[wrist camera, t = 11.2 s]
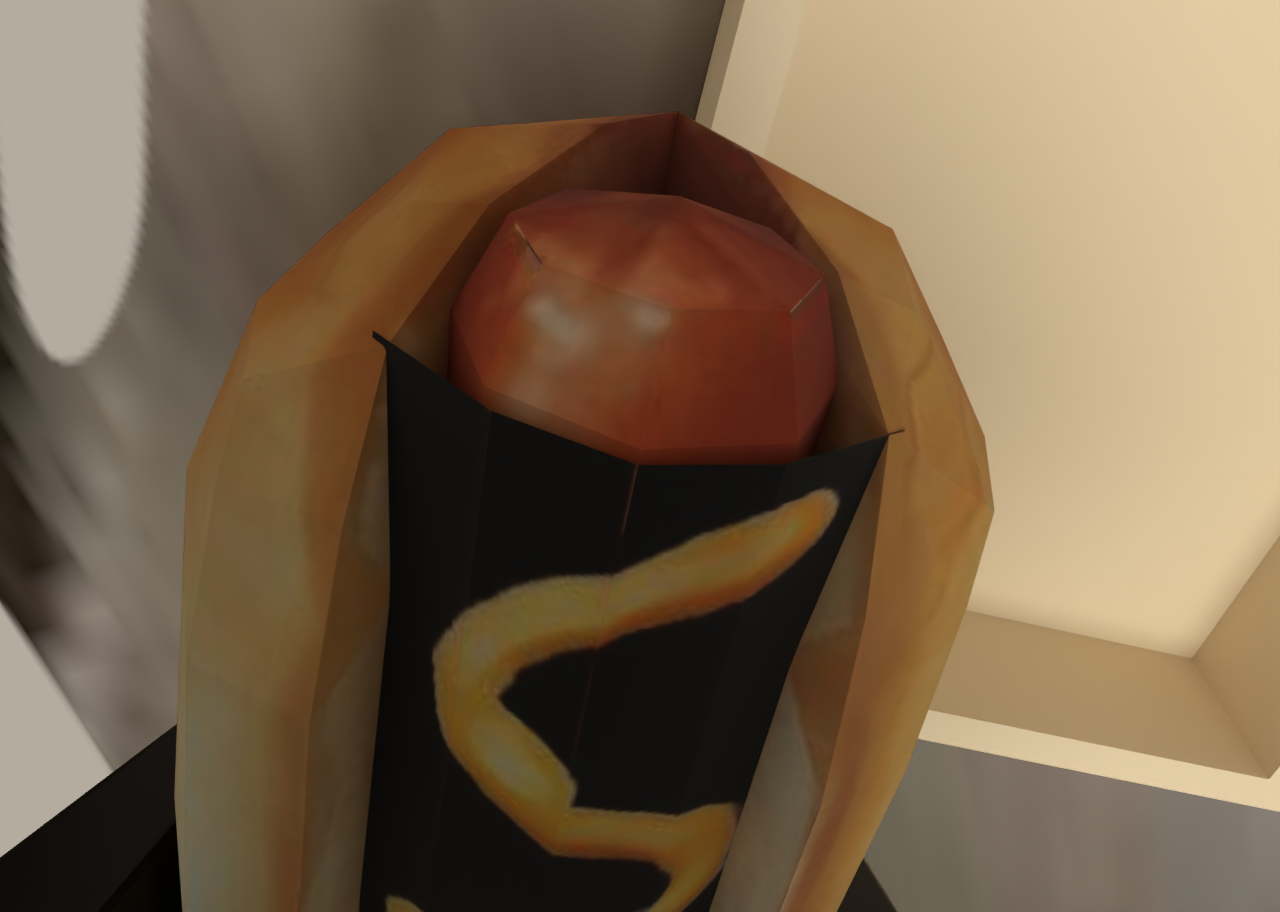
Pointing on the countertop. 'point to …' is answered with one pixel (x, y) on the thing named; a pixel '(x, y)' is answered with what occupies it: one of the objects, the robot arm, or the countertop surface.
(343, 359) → the hot dog
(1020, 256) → the cream shallow tray
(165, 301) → the countertop surface
